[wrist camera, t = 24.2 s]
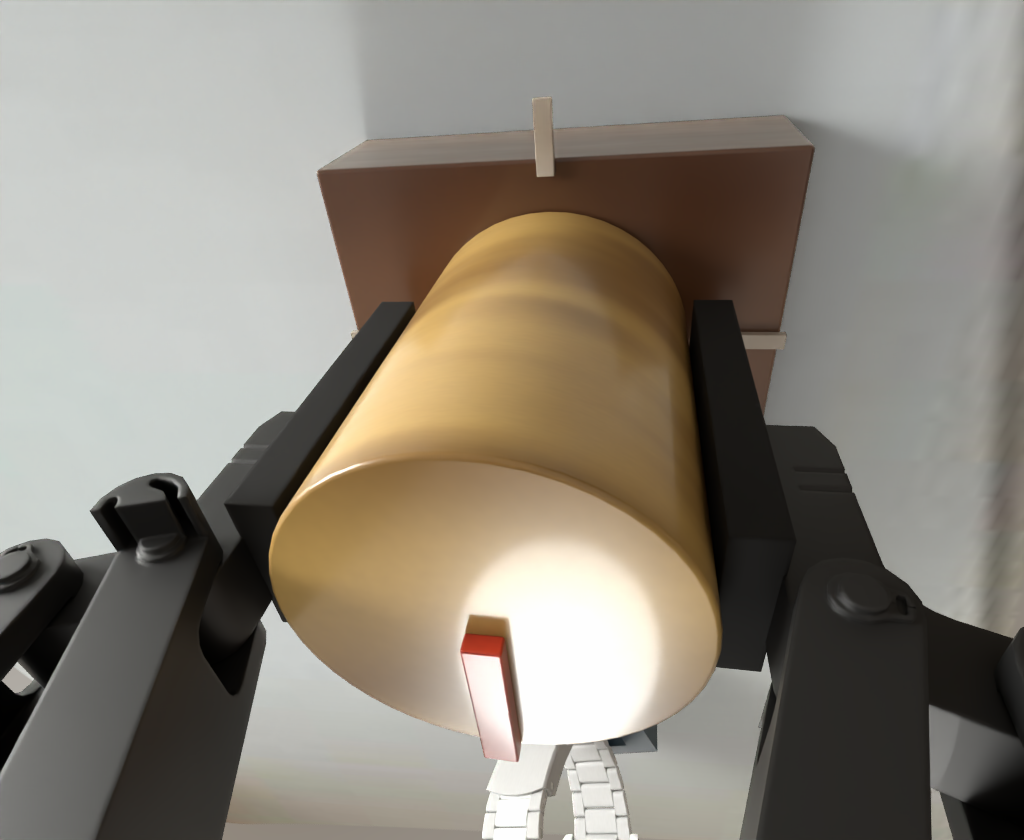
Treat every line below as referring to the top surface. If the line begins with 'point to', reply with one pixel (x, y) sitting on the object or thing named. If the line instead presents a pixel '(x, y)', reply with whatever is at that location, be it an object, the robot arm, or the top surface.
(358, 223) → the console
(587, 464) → the dial
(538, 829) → the watch
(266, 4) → the top surface
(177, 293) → the top surface
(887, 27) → the top surface
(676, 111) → the top surface
